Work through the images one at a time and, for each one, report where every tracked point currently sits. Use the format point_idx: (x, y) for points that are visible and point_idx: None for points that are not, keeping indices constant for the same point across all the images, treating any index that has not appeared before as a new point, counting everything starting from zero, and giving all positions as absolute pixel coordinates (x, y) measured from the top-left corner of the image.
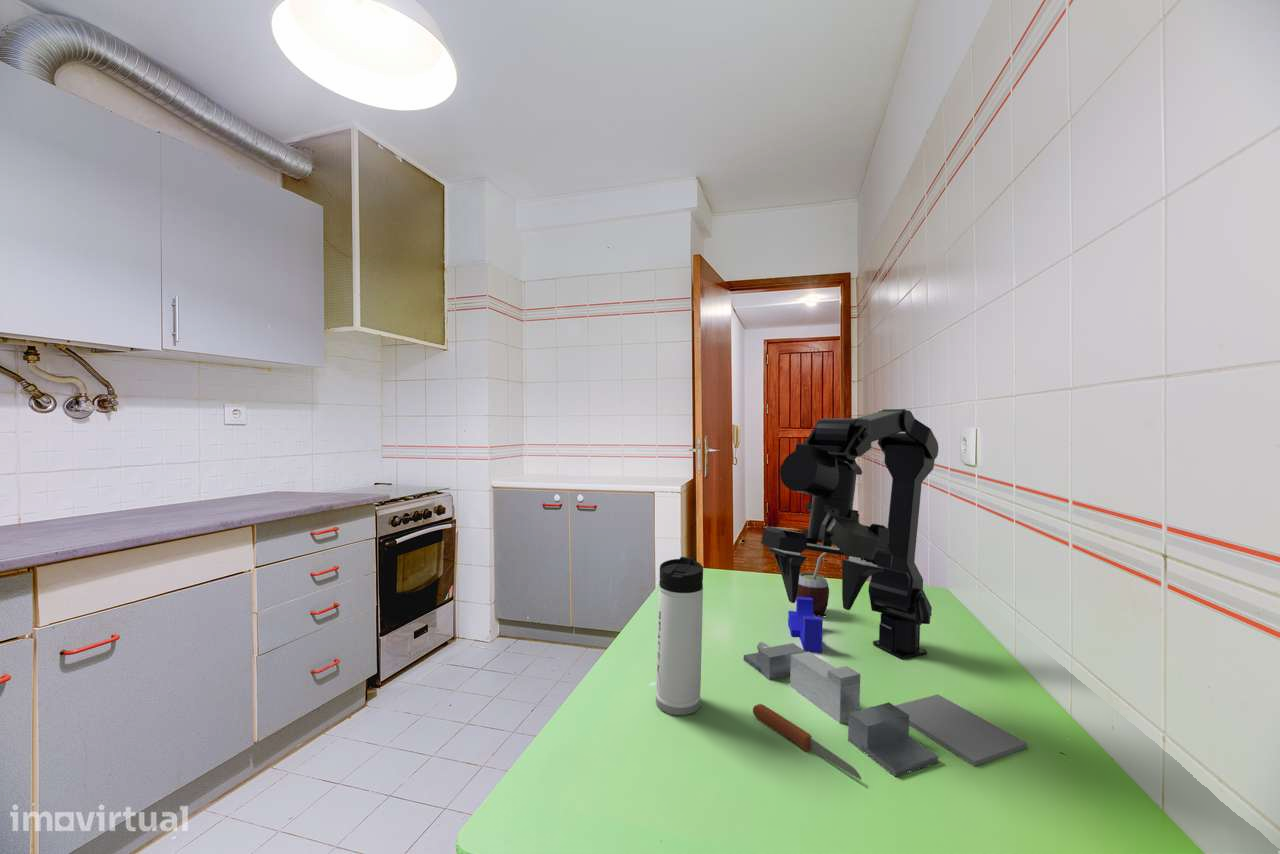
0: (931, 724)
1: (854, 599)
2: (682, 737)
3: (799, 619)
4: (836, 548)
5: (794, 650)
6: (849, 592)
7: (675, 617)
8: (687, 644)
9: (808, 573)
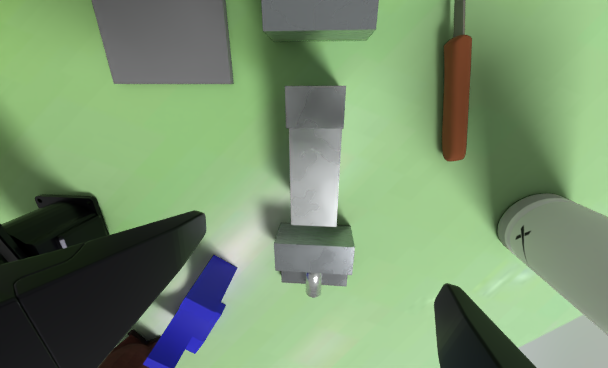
0: (197, 8)
1: (154, 224)
2: (601, 148)
3: (193, 329)
4: None
5: (292, 250)
6: (149, 259)
7: None
8: None
9: None
